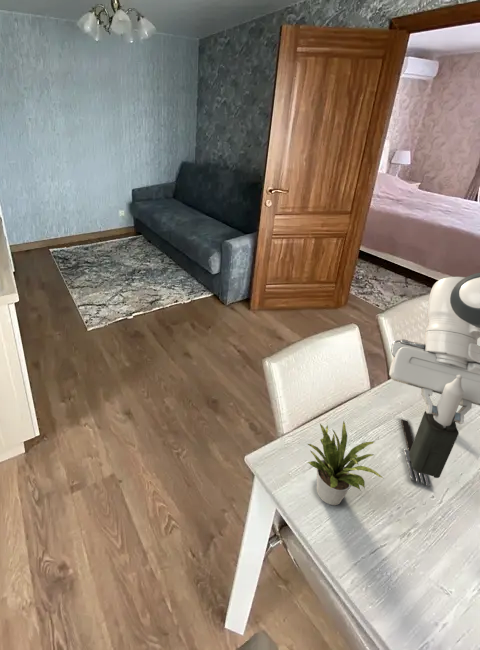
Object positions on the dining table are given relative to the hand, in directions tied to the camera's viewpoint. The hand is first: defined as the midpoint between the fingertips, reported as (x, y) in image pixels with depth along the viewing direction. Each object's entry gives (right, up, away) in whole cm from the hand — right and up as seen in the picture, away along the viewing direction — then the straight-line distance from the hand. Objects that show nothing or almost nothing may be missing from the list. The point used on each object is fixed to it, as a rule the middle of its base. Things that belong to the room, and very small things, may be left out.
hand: (444, 418), depth 69 cm
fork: (+5, -17, +18) cm, 25 cm away
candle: (0, -13, +6) cm, 15 cm away
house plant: (-18, -21, +7) cm, 29 cm away
